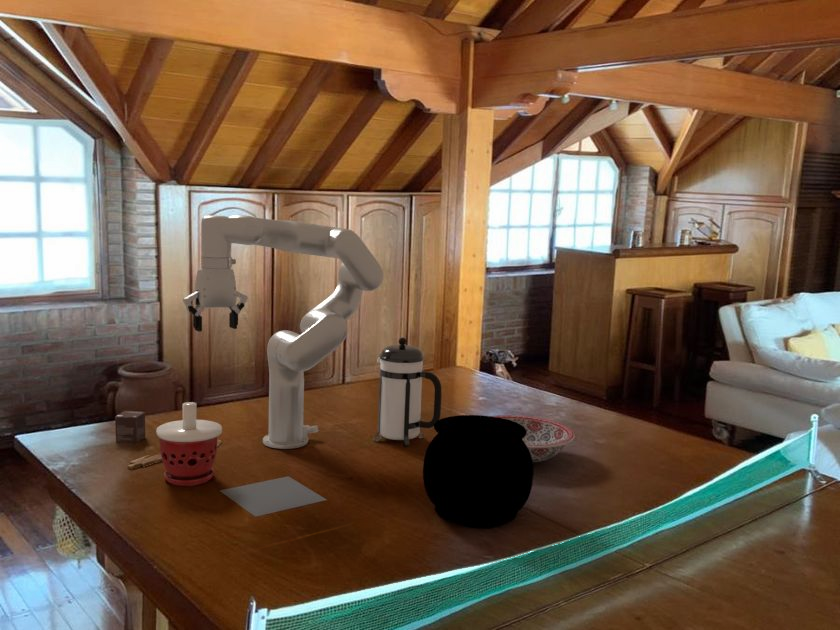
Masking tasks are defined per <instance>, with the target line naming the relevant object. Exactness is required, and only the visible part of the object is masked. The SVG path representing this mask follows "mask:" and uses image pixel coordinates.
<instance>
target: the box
mask: <svg viewBox="0 0 840 630" xmlns="http://www.w3.org/2000/svg"><path fill="white" fill-rule="evenodd" d="M114 420H115V421H114V425H115V442H116V443H118V442H119V443H134V444H137V443H138V442H140V441H141V440H142V439H144V438H146V412H145V411H133V410H132V411H131V410H124V411H122V412H121V413H118V414H117V415H115V416H114Z"/></svg>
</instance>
